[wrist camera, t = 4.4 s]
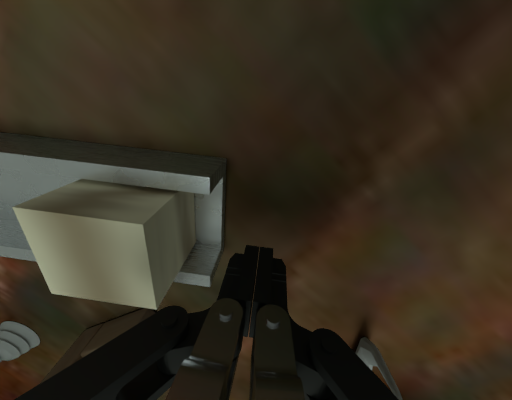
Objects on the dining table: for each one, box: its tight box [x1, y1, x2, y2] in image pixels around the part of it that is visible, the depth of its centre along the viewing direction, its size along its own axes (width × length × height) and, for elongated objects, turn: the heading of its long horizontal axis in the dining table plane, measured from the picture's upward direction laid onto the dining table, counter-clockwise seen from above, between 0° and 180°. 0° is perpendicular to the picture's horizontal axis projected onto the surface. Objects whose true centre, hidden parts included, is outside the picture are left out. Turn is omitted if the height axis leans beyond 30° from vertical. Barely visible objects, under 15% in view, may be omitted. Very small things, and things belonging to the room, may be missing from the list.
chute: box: [0, 132, 227, 287], centre depth 16 cm, size 26×8×4 cm, turn 85°
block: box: [12, 179, 196, 310], centre depth 13 cm, size 6×5×6 cm
